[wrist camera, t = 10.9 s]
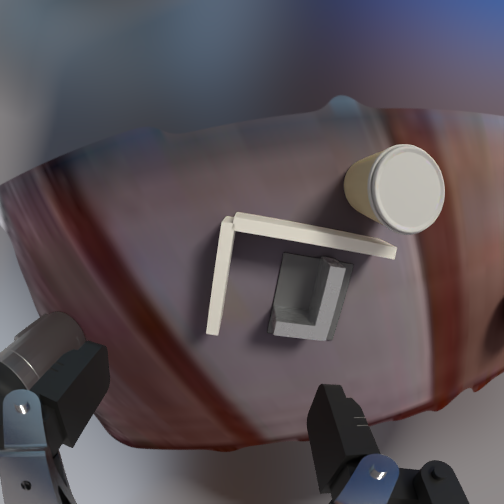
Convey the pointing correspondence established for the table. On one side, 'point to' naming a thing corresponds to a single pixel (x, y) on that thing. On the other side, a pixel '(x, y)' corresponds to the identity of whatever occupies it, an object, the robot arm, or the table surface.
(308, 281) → the mat
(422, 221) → the coffee cup
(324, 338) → the bracket
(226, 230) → the corner wall
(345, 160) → the table surface
